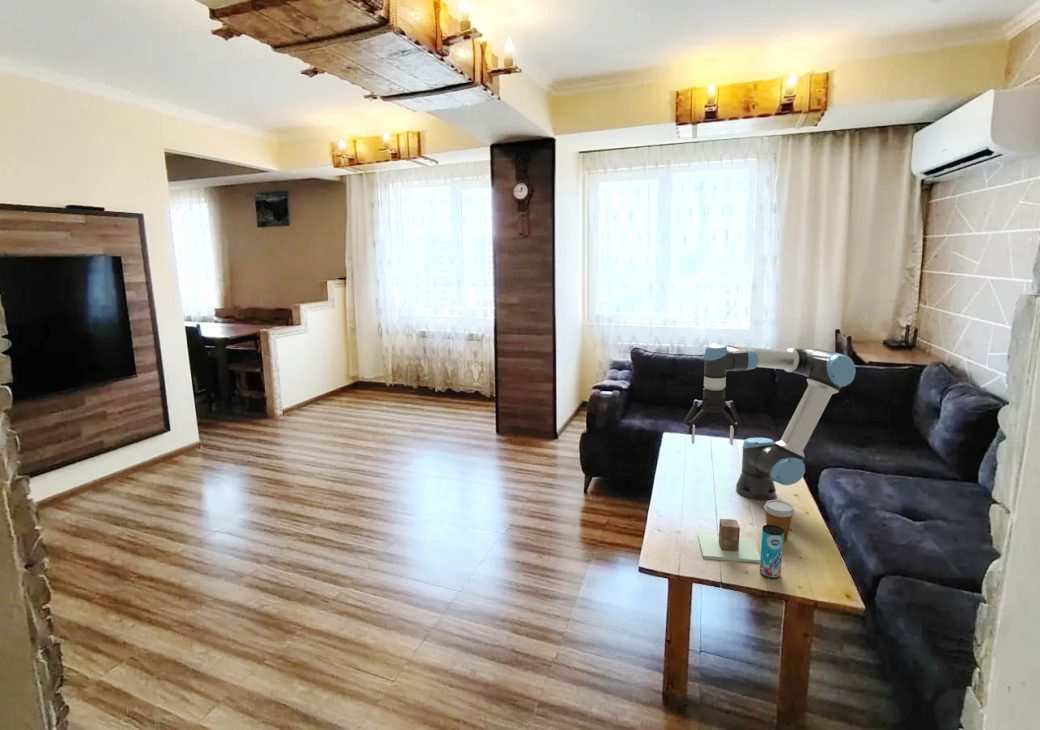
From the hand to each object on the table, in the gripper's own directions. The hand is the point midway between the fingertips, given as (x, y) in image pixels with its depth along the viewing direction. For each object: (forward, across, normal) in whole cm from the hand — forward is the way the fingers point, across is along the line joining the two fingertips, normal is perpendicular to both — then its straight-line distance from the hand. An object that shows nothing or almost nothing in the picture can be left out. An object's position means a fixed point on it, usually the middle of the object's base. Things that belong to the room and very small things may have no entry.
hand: (711, 443), depth 200 cm
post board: (+29, -3, +25) cm, 38 cm away
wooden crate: (+28, -3, +25) cm, 37 cm away
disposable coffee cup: (+29, -21, +14) cm, 38 cm away
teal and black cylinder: (+29, -13, +38) cm, 49 cm away
